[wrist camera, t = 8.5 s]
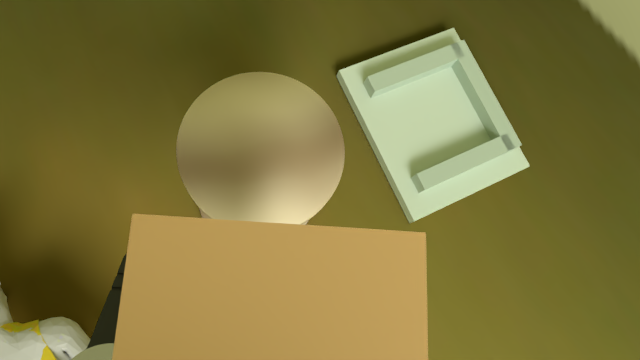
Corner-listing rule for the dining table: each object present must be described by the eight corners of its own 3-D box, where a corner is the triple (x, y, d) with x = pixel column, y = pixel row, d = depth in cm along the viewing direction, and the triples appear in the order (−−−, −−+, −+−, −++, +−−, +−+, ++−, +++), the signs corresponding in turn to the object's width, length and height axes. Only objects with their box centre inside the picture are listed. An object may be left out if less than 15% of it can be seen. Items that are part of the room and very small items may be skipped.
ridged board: (336, 76, 35) (342, 62, 33) (448, 34, 37) (460, 19, 35) (409, 223, 33) (420, 218, 31) (522, 169, 36) (539, 161, 34)
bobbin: (181, 168, 32) (150, 104, 21) (284, 127, 34) (303, 50, 23) (226, 272, 31) (216, 260, 20) (330, 225, 32) (371, 191, 22)
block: (191, 384, 15) (80, 576, 5) (203, 269, 16) (132, 213, 6) (303, 385, 16) (431, 560, 5) (308, 275, 17) (426, 233, 6)
